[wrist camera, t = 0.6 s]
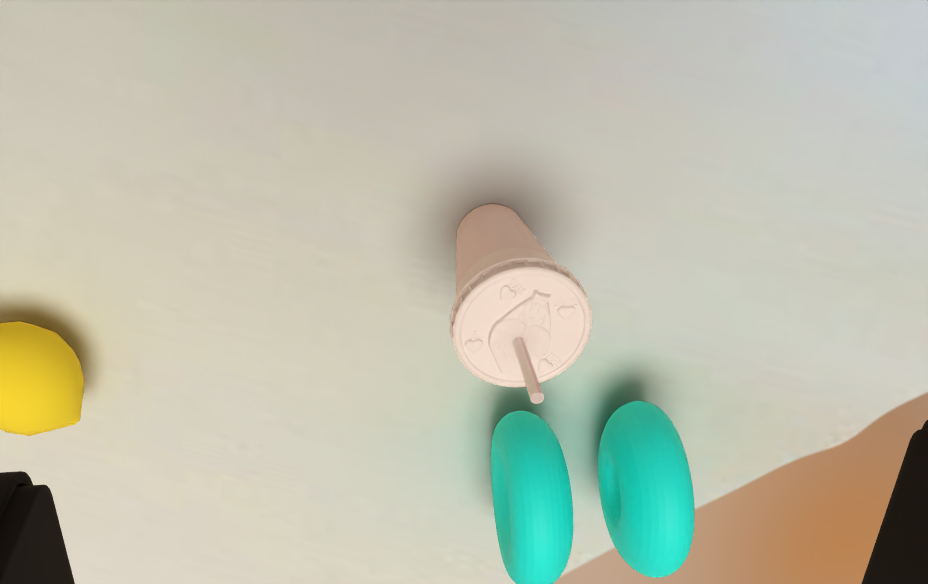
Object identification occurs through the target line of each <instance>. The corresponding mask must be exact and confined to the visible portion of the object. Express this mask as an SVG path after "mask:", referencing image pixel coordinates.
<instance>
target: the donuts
mask: <svg viewBox="0 0 928 584" xmlns="http://www.w3.org/2000/svg"><path fill="white" fill-rule="evenodd" d="M491 480H492V494H493V505H494V514H495V522H496V529H497V535H498V541H499V546H500V551H501V555H502V559H503V562H504V565H505V568H506V570H507V572H508V574H509V576H510V577H511V579H512V580H513V581H514V582H515V583H516V584H553V583H554V582H555V581H556V580H557V579H558V578H559V577H560V575H561V574H562V572H563V571H564V569H565V567H566V564H567V562H568V559H569V556H570V552H571V547H572V538H573V505H572V495H571V487H570V481H569V475H568V470H567V466H566V462H565V458H564V455H563V452H562V449H561V446H560V444H559V442H558V440H557V438H556V436H555V434H554V433H553V431H552V430H551V428H550V427H549V425H548V424H547V423H546V422H545V421H543V420H542V419H541V418H540V417H538V416H537V415H535V414H533V413H530V412H528V411H514V412H511V413H509V414H507V415H506V416H504V417H503V418H502V419H501V420H500V421H499V422H498V424H497V425H496V428H495V430H494V433H493V438H492V446H491ZM598 481H599V491H600V499H601V504H602V510H603V514H604V518H605V522H606V525H607V528H608V531H609V534H610V537H611V539H612V541H613V543H614V545H615V547H616V549H617V550H618V552H619V554H620V555H621V556H622V558H623V559H624V560H625V561H626V562H627V563H628V564H629V565H630V566H631V567H632V568H633V569H634V570H636V571H637V572H639V573H641V574H643V575H646V576H649V577H656V578H657V577H665V576H667V575H670V574H672V573H674V572H675V571H676V570H678V569H679V568H680V567H681V565H682V564H683V563H684V561H685V559H686V558H687V555H688V553H689V550H690V546H691V543H692V538H693V532H694V496H693V487H692V480H691V474H690V470H689V465H688V461H687V457H686V453H685V450H684V447H683V444H682V442H681V439H680V437H679V434H678V432H677V430H676V428H675V427H674V425H673V423H672V421H671V420H670V419H669V417H668V416H667V415H666V414H665V413H664V412H663V411H662V410H661V409H660V408H659V407H657V406H655V405H653V404H651V403H649V402H644V401H633V402H629V403H626V404H624V405H623V406H621V407H619V408H618V409H617V410H616V411H615V412H614V413H613V414H612V415H611V417H610V418H609V420H608V421H607V423H606V425H605V428H604V430H603V433H602V436H601V440H600V446H599V454H598Z"/></svg>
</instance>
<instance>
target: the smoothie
mask: <svg viewBox="0 0 928 584" xmlns="http://www.w3.org/2000/svg"><path fill="white" fill-rule="evenodd" d="M591 326H592V315H591V309H590V306H589V303H588V300H587V296H586V292H585V291H584V289H583V287H582V286H581V284H580V282H579V280H578V279H577V278H576V277H575V276H574V275H573V274H572V273H571V272H569V271H568V270H567V269H566V268H565V267H563V266H560V265H558V264H556V263H555V261H554V260H553V259H552V258H551V256H550V255H549V254H548V253H547V251H546V250H545V249H544V248H543V246H542V245H541V244H540V243H539V241H538V240H537V239H536V238H535V236H534V235H533V234H532V233H531V231H530V230H529V229H528V227H527V226H526V225H525V224H524V222H523V221H522V220H521V219H520V217H519V216H518V215H517V214H516V213H515V212H514V211H513V210H511V209H510V208H508V207H505V206H502V205H497V204H488V205H483V206H480V207H477V208H475V209H474V210H472V211H470V212H469V213H468V214H467V215H466V216H465V217H464V218H463V219H462V221H461V222H460V224H459V227H458V230H457V236H456V299H455V301H454V304H453V308H452V311H451V314H450V334H451V337H452V340H453V343H454V346H455V349H456V352H457V354H458V357H459V358H460V360H461V362H462V363H463V364H464V366H465V367H466V368H467V369H468V370H469V371H470V372H471V373H473V374H474V375H475V376H477V377H478V378H480V379H482V380H484V381H486V382H488V383H491V384H494V385H499V386H505V387H525V386H526V387H527V390H528V393H529V396H530V400H531V402H532V403H534V404H539V403H541V402H542V401H543V399H544V396H543V393H542V390H541V387H540V384H539V383H542V382H545V381H547V380H549V379H552V378H554V377H555V376H557V375H559V374H560V373H562V372H563V371H565V370H566V369H567V368H568V367H569V366H571V365H572V364H573V363H574V362H575V360H576V359H577V358H578V357H579V356H580V354H581V353H582V351H583V350H584V348H585V346H586V344H587V342H588V339H589V336H590V332H591Z"/></svg>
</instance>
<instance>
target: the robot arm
mask: <svg viewBox="0 0 928 584" xmlns="http://www.w3.org/2000/svg"><path fill="white" fill-rule="evenodd" d="M0 584H75V583H74V579H73V575H72V571H71V567H70V563H69V560H68V556H67V552H66V548H65V544H64V540H63V536H62V532H61V528H60V524H59V520H58V516H57V512H56V509H55V505H54V501H53V497H52V494H51V491H50V489H49V488H48V486H47V485H33V484H32V481H31V478H30V477H29V476H28V474H27V473H25V472H5V473H0ZM862 584H928V420H927V421H926V422H925V424H924V426H923V428H922V429H921V430H918V431H916V432H915V433H914V434H913V436H912V438H911V439H910V442H909V445H908V448H907V451H906V454H905V457H904V460H903V463H902V466H901V469H900V472H899V475H898V478H897V481H896V484H895V487H894V490H893V493H892V496H891V498H890V501H889V504H888V507H887V510H886V514H885V517H884V519H883V522H882V525H881V528H880V531H879V534H878V537H877V540H876V543H875V546H874V549H873V552H872V555H871V558H870V561H869V564H868V567H867V569H866V572H865V575H864V578H863V581H862Z"/></svg>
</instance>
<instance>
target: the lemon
mask: <svg viewBox="0 0 928 584" xmlns="http://www.w3.org/2000/svg"><path fill="white" fill-rule="evenodd" d="M83 390H84V378H83V374H82V370H81V365H80V361H79V360H78V358H77V356H76V355H75V353H74V351H73V350H72V348H71V347H70V346H69V345H68V344H67V343H66V342H65V341H64V340H63V339H62V338H61V337H60V336H59V335H58V334H57V333H56V332H53V331H50V330H47V329H44V328H41V327H39V326H36V325H33V324H29V323H25V322H21V321H16V322H7V323H0V429H1V430H3V431H5V432H9V433H15V434H21V435H28V436H31V435H35V434H39V433H43V432H47V431H51V430H55V429H59V428H63V427H66V426H70V425H74V424H76V423H77V422H78V421H79V420H80V416H81V407H82V398H83Z"/></svg>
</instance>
